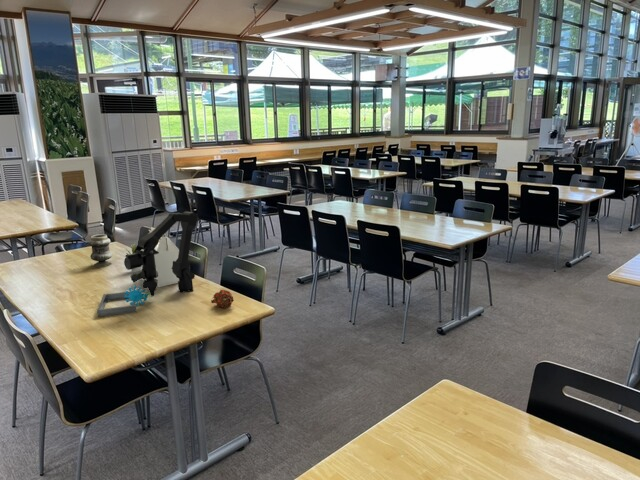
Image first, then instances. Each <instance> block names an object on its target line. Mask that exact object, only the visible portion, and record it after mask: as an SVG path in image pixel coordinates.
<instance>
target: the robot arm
mask: <svg viewBox="0 0 640 480" xmlns="http://www.w3.org/2000/svg"><path fill="white" fill-rule="evenodd" d="M198 221H199V216H198V215H197V213H195V212H192V211H183V212H181V213H180V212H170V213H169V214H168V215H167V216H166V217H165V218H164V219H163V220H162V221H161V222H160V223H159V224H158V225H157V226H156V227H154V228H155V229H154V230H153V231H152V232H151V233H149V232H148V233H149V234H148V233H146V234H144V235H143V236H141V238H139V239H138V241H137V245H136V249H135V251H134V253H133V254H132V253H131V254H129V253H128V254H125V256H126V257H125V258H124V259H123V260H124V261H123V264H124V267H125V268H126V269H125V270H127V271H130V270H131V269H134V268H138V267H141V266H142V270H140V271H137V272H132V273H131V274H130V279H131V281H132V283H137V282H138V281H140V280H143V281H142V289H148V291H149V292H148V293H150V296H151V297H155V294H156V290H157V288H158V287H157V285H158V280H157V279H155V278H157V277H158V272H157V271H156V265H155V256H154V254H158V253H159V252H157V251H156V250H155V247H156V246H157V244H158V242H159V239H160V238H161V237H162V236H163V235H165V234H166V233H167V232H169V230H170V229H171V228H173V226H174V225H175V224H176V223H177V222H179V223H180V226H181V229H182V231H181V236H180V244H179V248H178V249H179V255H178V259H177V260H176V261H173V266H172V268H171V269H172V271H173V273H174V274H175V275H176V277H177V278H179V281H178V283H177V285H178V286H177V287H178V291H179V293H187V292H194V286H193V280H194V279H195V276H196V274H195V273H194V272H192V271H191V265H190V261H189V256H190V250H191V243H192V237H193V236H192V235H193V231H194V229H195V228H196V226H197V224H198ZM160 240H161V239H160ZM141 250H144V251H141Z"/></svg>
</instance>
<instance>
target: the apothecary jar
mask: <svg viewBox="0 0 640 480" xmlns="http://www.w3.org/2000/svg"><path fill="white" fill-rule="evenodd" d="M110 244H111V239H110V238H108V235H107V234H106V233H105V234H104V233H101V234H94V235H91V237H90V240H89V241H88V245H90V246H91V254H90V255H89V256H90V259H91V260H92V261H95V262H96V263H94V264H93V267H96V268H100V267H101V268H102V267H103V268H104V267H107V266H110V265H112V262H111V261H108V260H110V259H111V258H112V257H113V253H112V251H110V250H111V249H110Z"/></svg>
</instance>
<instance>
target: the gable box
mask: <svg viewBox="0 0 640 480" xmlns="http://www.w3.org/2000/svg"><path fill="white" fill-rule="evenodd" d="M155 228H156V227H154V226H151V227H150V229H148V231H149V232H147V234H149V233H151V232H152V231H153V230H154V229H155ZM155 250H156V251H157V252H159V253H158V254H154V256H155V265H156V271H157V272H158V277H157V278H155V279H157V280H158V285H157V287H156V288H162V287H166V286H169V285H174V283H175V284H178V281H179V278H177V277H176V275H175V274H174V273H173V271H172V269H171V268H172V266H173V261H176V260H177V259H178V255H179V248H178V247H177V246H176V244H175V243H174V242H173V241H172V240H171V238H169V237H168V236H165V234H164V235H163V236H162V237H161V238H160V239H159V242H158V244H157V246H156V247H155ZM141 251H144V250H141Z"/></svg>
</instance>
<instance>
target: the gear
mask: <svg viewBox="0 0 640 480" xmlns="http://www.w3.org/2000/svg"><path fill="white" fill-rule="evenodd" d="M142 289H143V287H141V286H139V287H138V288H137V286H136V285H133V289H132V287H128V289H127V290H125V291H124V292H125V294H128V295H129V296H127V295H125V296H124V298H127V299H125V302H126V303H129V304H130V305H129V306H131V305H136V307H138V306H139V302H140V305H144V302H146V301H147V300H148V297H149V296H151V294H150V292H147V293H146V289H143V290H142ZM129 291H130V293H128V292H129ZM142 299H143V300H142Z"/></svg>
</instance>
